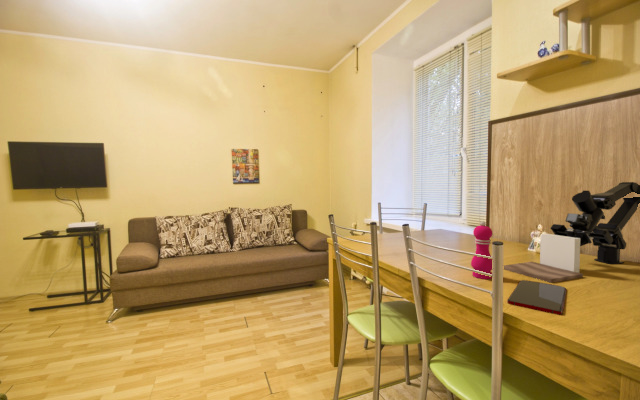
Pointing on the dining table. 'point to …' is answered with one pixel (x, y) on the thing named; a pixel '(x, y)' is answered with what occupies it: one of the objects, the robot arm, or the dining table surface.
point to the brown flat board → (543, 271)
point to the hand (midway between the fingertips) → (569, 249)
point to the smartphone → (538, 296)
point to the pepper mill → (482, 250)
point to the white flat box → (560, 252)
